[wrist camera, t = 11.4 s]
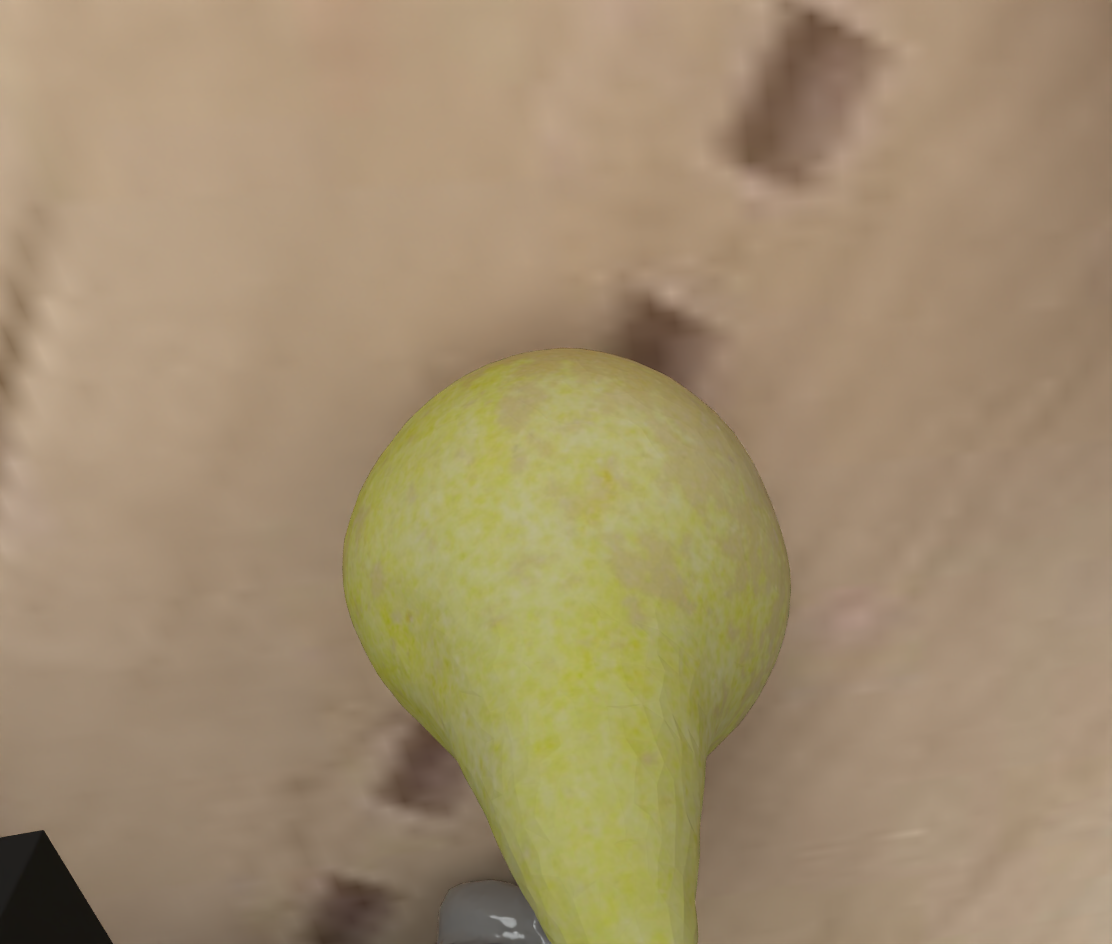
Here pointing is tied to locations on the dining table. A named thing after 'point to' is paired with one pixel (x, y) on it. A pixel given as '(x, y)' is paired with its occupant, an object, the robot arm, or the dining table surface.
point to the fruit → (574, 620)
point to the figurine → (488, 915)
